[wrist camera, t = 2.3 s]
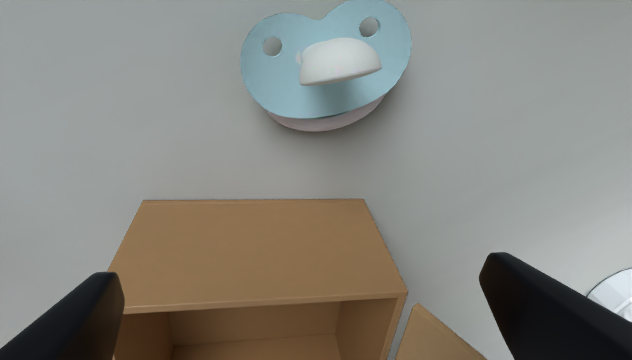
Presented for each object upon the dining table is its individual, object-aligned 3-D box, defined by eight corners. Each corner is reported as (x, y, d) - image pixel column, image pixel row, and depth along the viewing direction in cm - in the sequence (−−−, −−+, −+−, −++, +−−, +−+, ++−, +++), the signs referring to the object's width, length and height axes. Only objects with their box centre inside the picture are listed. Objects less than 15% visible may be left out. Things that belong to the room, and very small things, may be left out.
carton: (363, 198, 21) (408, 291, 15) (338, 331, 28) (362, 436, 21) (142, 199, 19) (87, 309, 13) (169, 344, 25) (141, 465, 19)
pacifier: (394, 110, 19) (390, -13, 16) (449, 167, 14) (461, -1, 10) (263, 138, 19) (231, 18, 15) (268, 208, 13) (220, 48, 10)
